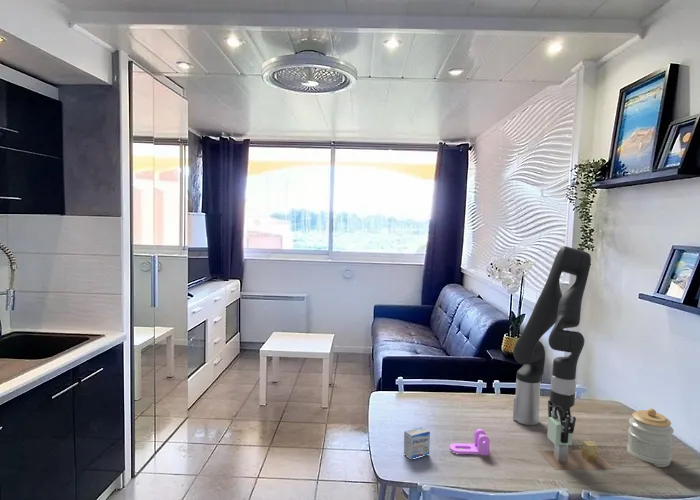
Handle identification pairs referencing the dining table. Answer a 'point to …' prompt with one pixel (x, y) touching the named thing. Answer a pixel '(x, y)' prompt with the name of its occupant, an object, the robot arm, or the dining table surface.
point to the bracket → (473, 445)
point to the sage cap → (556, 432)
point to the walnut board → (575, 461)
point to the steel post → (561, 453)
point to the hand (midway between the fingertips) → (559, 437)
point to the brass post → (589, 451)
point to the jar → (650, 437)
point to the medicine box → (416, 442)
